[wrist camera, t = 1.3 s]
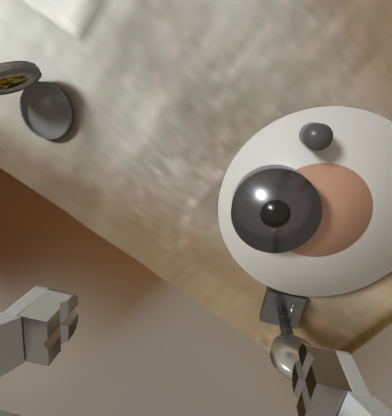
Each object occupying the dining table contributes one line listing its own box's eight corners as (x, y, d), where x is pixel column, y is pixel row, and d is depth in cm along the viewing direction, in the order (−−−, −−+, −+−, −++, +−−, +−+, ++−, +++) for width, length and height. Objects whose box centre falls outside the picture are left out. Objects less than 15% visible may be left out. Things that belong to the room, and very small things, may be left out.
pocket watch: (62, 149, 36) (-1, 163, 27) (6, 109, 36) (-78, 109, 26) (89, 92, 33) (29, 86, 24) (28, 48, 33) (-56, 25, 23)
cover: (240, 158, 30) (239, 163, 27) (325, 172, 29) (334, 178, 26) (225, 232, 33) (224, 244, 31) (302, 247, 32) (308, 261, 30)
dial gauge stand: (269, 278, 38) (280, 349, 27) (307, 285, 37) (335, 361, 26) (259, 315, 40) (266, 395, 29) (294, 322, 40) (315, 407, 28)
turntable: (237, 92, 31) (236, 89, 25) (452, 123, 29) (502, 126, 23) (207, 264, 38) (201, 290, 33) (374, 298, 36) (398, 332, 31)
